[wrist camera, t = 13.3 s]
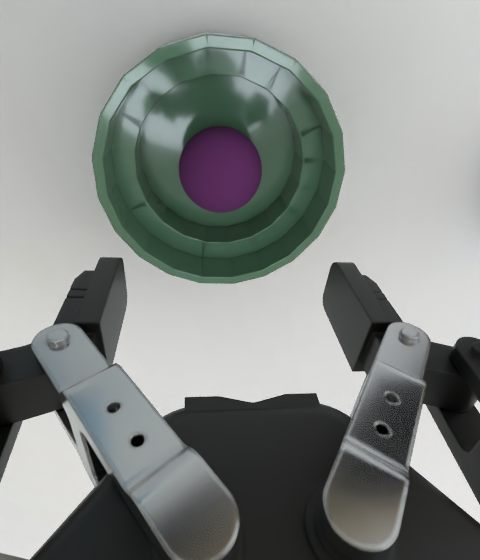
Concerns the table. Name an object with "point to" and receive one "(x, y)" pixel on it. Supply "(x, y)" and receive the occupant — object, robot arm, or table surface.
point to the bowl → (208, 113)
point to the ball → (220, 169)
